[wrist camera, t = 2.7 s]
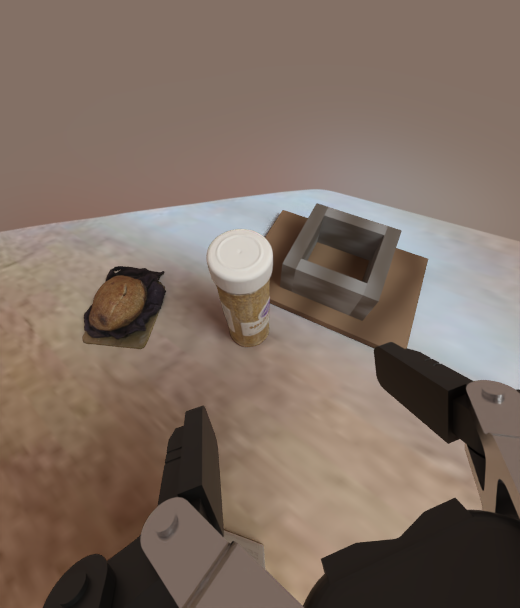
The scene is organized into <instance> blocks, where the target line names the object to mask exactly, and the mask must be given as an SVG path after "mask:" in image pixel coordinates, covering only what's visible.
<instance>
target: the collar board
mask: <svg viewBox="0 0 520 608" xmlns="http://www.w3.org/2000/svg"><path fill="white" fill-rule="evenodd" d="M400 234H401V230H398V229H395V228H392V227H389V226H386V225H383V224H379V223H376V222H373V221H370V220H367V219H364V218H361V217H358V216H354V215H351V214H348V213H345V212H342V211H339V210H336V209H333V208H329V207H326V206H323V205H320V204H316V205H315V207H314V209H313V211H312V212H311V214H310V216H309V218H305V217H302V216H299V215H296V214H294V213H291V212H288V211H285V210H283V211H282V212H281V214H280V215H279V217H278V218H277V220H276V221H275V223H274V225H273V226H272V228H271V229H270V231H269V232H268V234H267V235H266V237H265V238H266V240H267V241H268V242H269V243H270V245H271V248H272V252H273V268H272V274H271V276H270V282H269V296H270V303H271V304H273V305H276V306H278V307H280V308H283V309H285V310H287V311H289V312H292V313H294V314H296V315H299V316H301V317H303V318H306V319H308V320H310V321H313V322H315V323H317V324H320V325H322V326H324V327H327V328H329V329H331V330H333V331H336V332H338V333H340V334H343V335H345V336H347V337H350V338H352V339H354V340H357V341H359V342H361V343H364V344H366V345H368V346H371V347H373V348H375V347H377V346H380V345H383V344H386V343H389V342H393V343H395V344H397V345H399V346H401V347H402V348H404V349H406V348H407V345H408V341H409V337H410V332H411V328H412V324H413V320H414V316H415V312H416V307H417V303H418V299H419V295H420V291H421V287H422V282H423V278H424V274H425V270H426V266H427V262H428V259H427V258H424V257H421V256H418V255H415V254H412V253H409V252H406V251H403V250H400V249H397V248H396V246H397V243H398V240H399V237H400Z"/></svg>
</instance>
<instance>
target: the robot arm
mask: <svg viewBox="0 0 520 608" xmlns="http://www.w3.org/2000/svg"><path fill="white" fill-rule="evenodd" d="M374 357H375V366H376V375H377V379H378V381H379V383H380V385H381V386H382V387H383V389H385V390H386V391H387V392H388V393H389V394H390V395H392V396H393V397H394V398H395V399H396V400H397V401H399V402H400V403H401V404H402V405H403V406H404V407H406V408H407V409H408V410H409V411H410V412H411V413H413V414H414V415H415V416H416V417H417V418H418V419H420V420H421V421H422V422H423V423H424V424H426V425H427V426H428V427H429V428H430V429H431V430H433V431H434V432H435V433H436V434H437V435H438V436H440V437H441V438H442V439H443V440H444V441H445V442H447V443H448V444H449V443H451V442H454V441H456V440H458V439H461V440H462V441H463V442H465V452H466V455H467V458H468V461H469V464H470V468H471V471H472V474H473V477H474V480H475V483H476V487H477V490H478V493H479V496H480V500H481V504H482V510H483V511H482V510H466V509H465V507H464V506H463V505H462V504H461V503H460V502H459V501H458V500H457V499H456V498H453V499H451V500H449V501H447V502H444V503H442V504H440V505H438V506H436V507H434V508H431V509H429V510H427V511H425V512H423V514H422V515H421V516H420V517H419V518H418V519H417V520H416V521H415V522H414V523H413V524H412V525H411V526H410V527H409V528H408V529H407V530H406V531H405V532H404V533H403V534H402V536H400V537H399V538H397V539H391V540H381V541H371V542H360V543H355V544H353V545H350V546H348V547H346V548H344V549H342V550H339V551H337V552H335V553H333V554H331V555H328V556H326V557H324V558H322V559H321V561H322V565H323V569H324V573H325V574H324V575H323V576H322V577H321V578H320V579H319V580H318V581H317V583H316V584H315V585H314V587H313V588H312V590H311V591H310V593H309V595H308V597H307V599H306V600H305V603H304V605H303V606H302V605H301V604H300V603H299V602H298V601H297V600H296V599H295V598H294V597H293V596H292V595H291V594H290V593H289V592H288V591H287V590H286V589H285V588H284V587H283V586H282V585H281V584H280V583H279V582H278V581H277V580H276V579H275V578H274V577H273V576H271V575H270V574H269V573H268V572H267V571H266V570H265V569H264V568H263V567H262V566H261V565H260V564H259V563H258V562H257V561H256V560H255V559H254V558H253V557H252V556H251V555H250V554H249V553H248V552H247V551H246V550H245V549H244V548H243V547H242V546H241V545H239V544H238V543H237V542H235V541H232V542H231V543H229V542H228V541H227V540H225V539H224V538H223V537H224V528H223V513H222V499H221V484H220V470H219V455H218V445H217V440H216V436H215V433H214V430H213V428H212V425H211V422H210V419H209V417H208V414H207V411H206V409H205V407H204V406H200V407H198V408H195V409H192V410H189V411H186V413H185V421H184V426H182V427H179V428H176V429H175V430H174V432H173V434H172V436H171V437H170V439H169V441H168V447H167V455H166V459H165V465H164V471H163V477H162V483H161V489H160V495H159V501H158V506H157V508H156V509H155V510H154V511H153V512H152V513H151V514H150V516H149V517H148V519H147V520H146V522H145V524H144V526H143V529H142V532H141V535H140V536H139V537H138V538H137V539H136V540H134V541H133V542H132V543H131V544H129V545H128V546H127V547H125V548H124V549H123V550H121V551H120V552H118V553H117V554H116V555H114V556H113V557H112V558H110V559H109V560H108V561H107V560H106V559H105V558H104V557H103V556H102V555H99V554H93V555H89V556H87V557H85V558H83V559H81V560H80V561H78V562H77V563H75V564H74V565H73V566H72V567H71V568H70V569H69V570H68V571H67V572H66V573H65V574H64V575H63V576H62V577H61V578H60V579H59V581H58V582H57V583H56V585H55V586H54V588H53V589H52V591H51V592H50V594H49V596H48V598H47V599H46V602H45V604H44V606H43V608H520V390H515V389H513V388H512V387H510V386H508V385H505V384H502V383H499V382H495V381H489V380H478V381H472V380H470V379H468V378H467V377H465V376H463V375H461V374H459V373H457V372H456V371H454V370H452V369H450V368H448V367H446V366H444V365H443V364H439V362H437V361H435V360H433V359H430V357H428V356H426V355H424V354H422V353H421V352H418V351H414V350H411V349H407V348H406V349H404V348H402V347H401V346H399V345H397V344H395V343H393V342H389V343H386V344H383V345H380V346H377V347H375V348H374Z"/></svg>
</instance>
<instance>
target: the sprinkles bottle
mask: <svg viewBox="0 0 520 608" xmlns="http://www.w3.org/2000/svg"><path fill="white" fill-rule="evenodd" d="M207 264H208V268H209V271H210V275H211V278H212V280H213V281H214V283H215V284H216V286H217V289H218V293H219V298H220V302H221V305H222V308H223V312H224V314H225V317H226V321H227V324H228V326H229V330H230V334H231V337H232V338H233V340H234V341H235V342H236V343H238V344H239V345H241V346H245V347H251V346H256V345H259V344H260V343H262V342H263V340H265V338H266V337H267V335H268V333H269V323H268V320H269V307H270V296H269V282H270V276H271V274H272V268H273V252H272V248H271V245H270V243H269V242H268V241H267V240H266V238H265V237H263V236H262V235H261V234H259V233H257V232H255V231H252V230H246V229H236V230H230V231H227V232H225V233H223V234H221V235H219V236H218V237H217V238H215V239H214V240H213V242H212V243H211V244H210V246H209V248H208V251H207Z"/></svg>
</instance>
